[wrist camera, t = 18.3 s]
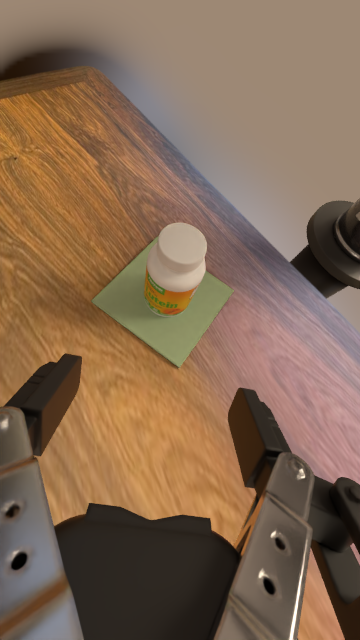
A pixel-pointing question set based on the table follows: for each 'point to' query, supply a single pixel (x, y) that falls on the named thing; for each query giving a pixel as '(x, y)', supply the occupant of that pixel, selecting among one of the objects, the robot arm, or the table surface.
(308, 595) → the table surface
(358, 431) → the table surface
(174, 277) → the supplement bottle
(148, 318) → the mat
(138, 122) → the table surface
